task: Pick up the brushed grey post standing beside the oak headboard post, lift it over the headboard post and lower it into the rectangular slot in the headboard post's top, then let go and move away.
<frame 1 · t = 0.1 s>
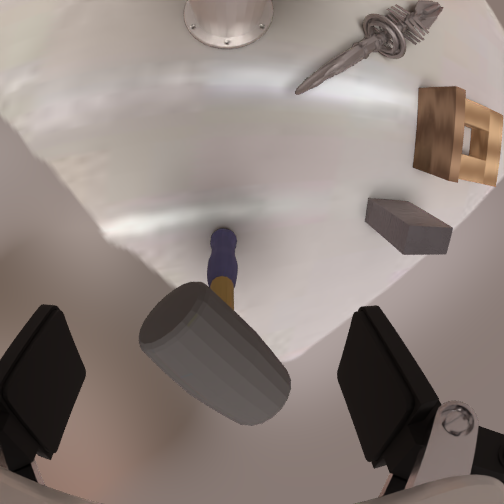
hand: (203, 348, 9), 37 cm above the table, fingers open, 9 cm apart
brushed grey post: (387, 211, 47), on the table
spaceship: (371, 42, 35), on the table
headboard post: (453, 137, 41), on the table
rubber mallet: (223, 236, 47), on the table
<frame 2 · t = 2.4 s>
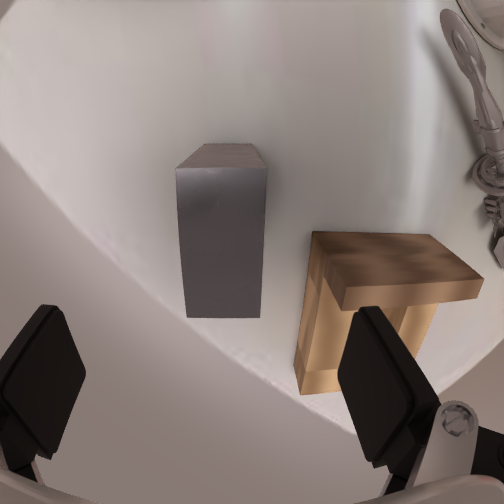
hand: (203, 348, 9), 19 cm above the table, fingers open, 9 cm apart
brushed grey post: (227, 188, 26), on the table
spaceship: (478, 161, 26), on the table
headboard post: (361, 306, 32), on the table
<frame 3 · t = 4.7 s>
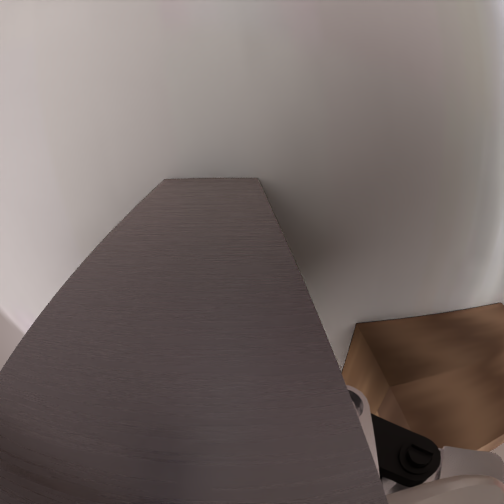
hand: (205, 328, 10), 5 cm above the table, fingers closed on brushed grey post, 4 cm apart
brushed grey post: (212, 262, 14), on the table, touching gripper
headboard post: (404, 398, 21), on the table
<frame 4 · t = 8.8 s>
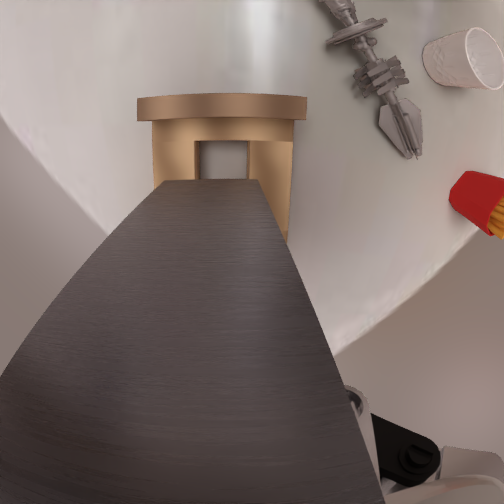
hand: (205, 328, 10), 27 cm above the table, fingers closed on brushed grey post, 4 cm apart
white cup: (439, 63, 29), on the table
brushed grey post: (212, 263, 14), point 22 cm above the table, touching gripper
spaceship: (342, 37, 28), on the table
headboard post: (223, 177, 34), on the table
french fries: (463, 188, 37), on the table
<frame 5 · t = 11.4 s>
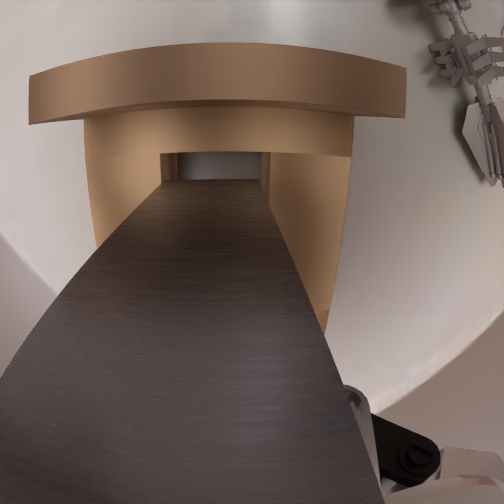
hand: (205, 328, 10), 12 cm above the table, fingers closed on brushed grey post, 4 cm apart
brushed grey post: (212, 264, 14), point 7 cm above the table, touching gripper
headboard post: (219, 212, 21), on the table
when the fingers open (7 cm above the table, at t = 13.3 s): brushed grey post drops 2 cm, resting in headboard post.
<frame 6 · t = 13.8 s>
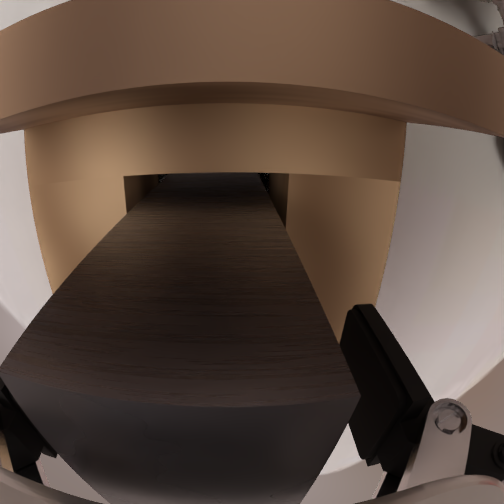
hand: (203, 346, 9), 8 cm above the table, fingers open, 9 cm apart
brushed grey post: (214, 244, 16), resting in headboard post
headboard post: (214, 246, 16), on the table
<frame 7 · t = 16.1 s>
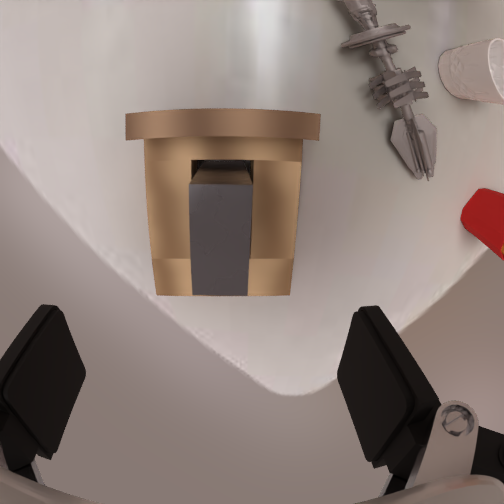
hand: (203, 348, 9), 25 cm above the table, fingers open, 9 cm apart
white cup: (454, 74, 26), on the table
brushed grey post: (223, 197, 32), resting in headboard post
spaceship: (358, 42, 25), on the table
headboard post: (223, 198, 32), on the table
french fries: (475, 206, 34), on the table
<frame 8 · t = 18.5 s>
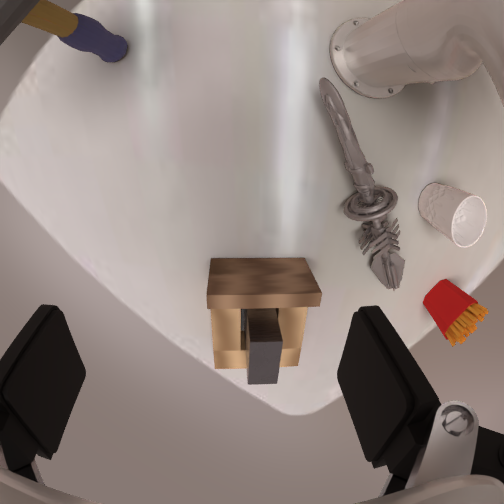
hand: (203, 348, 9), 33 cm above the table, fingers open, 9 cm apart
white cup: (432, 201, 43), on the table
brushed grey post: (256, 307, 48), resting in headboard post
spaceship: (358, 193, 42), on the table
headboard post: (256, 308, 48), on the table
french fries: (436, 291, 51), on the table
rubber mallet: (118, 51, 31), on the table
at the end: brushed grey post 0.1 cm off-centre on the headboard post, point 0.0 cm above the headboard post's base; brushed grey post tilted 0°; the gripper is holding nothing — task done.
